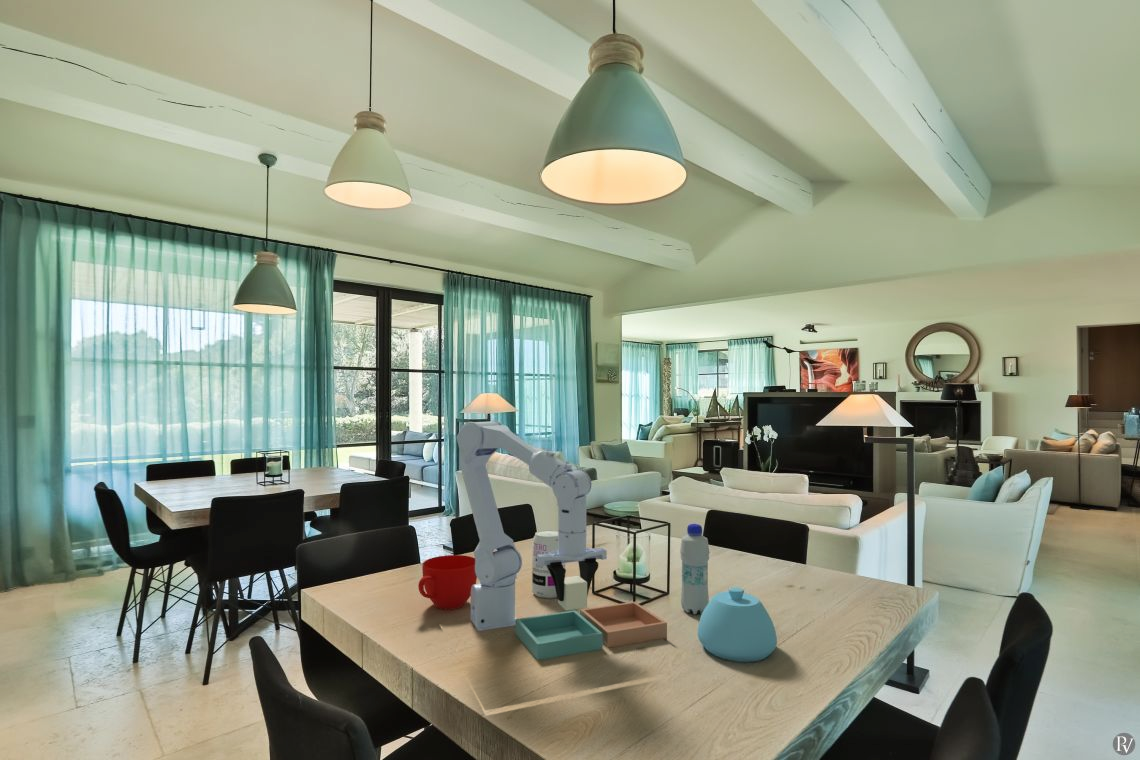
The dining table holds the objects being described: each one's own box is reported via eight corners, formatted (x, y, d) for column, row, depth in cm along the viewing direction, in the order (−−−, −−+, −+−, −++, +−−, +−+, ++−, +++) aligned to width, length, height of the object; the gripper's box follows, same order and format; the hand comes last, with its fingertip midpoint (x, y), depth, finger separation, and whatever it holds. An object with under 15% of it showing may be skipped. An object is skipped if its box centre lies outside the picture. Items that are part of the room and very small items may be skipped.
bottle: (710, 617, 132) (709, 527, 133) (679, 615, 134) (679, 526, 134) (709, 607, 139) (709, 521, 140) (680, 604, 140) (680, 520, 141)
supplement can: (566, 588, 152) (566, 530, 152) (563, 599, 144) (563, 537, 144) (535, 587, 153) (535, 529, 153) (529, 598, 144) (530, 536, 145)
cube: (566, 610, 116) (566, 584, 116) (558, 602, 120) (558, 578, 120) (587, 607, 118) (587, 582, 118) (578, 600, 122) (578, 575, 122)
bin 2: (607, 650, 115) (607, 632, 115) (580, 626, 127) (580, 609, 127) (666, 640, 120) (666, 622, 120) (634, 617, 132) (634, 601, 132)
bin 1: (537, 663, 109) (537, 644, 109) (515, 636, 122) (515, 619, 122) (602, 651, 114) (602, 633, 114) (575, 626, 127) (575, 610, 127)
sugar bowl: (760, 632, 124) (760, 577, 125) (789, 664, 109) (789, 601, 110) (689, 633, 124) (689, 577, 124) (709, 666, 109) (708, 602, 109)
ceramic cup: (397, 614, 134) (398, 569, 134) (446, 592, 149) (446, 552, 149) (442, 624, 128) (443, 577, 128) (488, 600, 143) (488, 559, 143)
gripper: (545, 537, 113) (545, 609, 113) (613, 531, 119) (613, 599, 118) (533, 530, 120) (533, 597, 119) (598, 524, 125) (598, 589, 125)
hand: (572, 598), depth 119 cm, fingers closed on cube, 4 cm apart
